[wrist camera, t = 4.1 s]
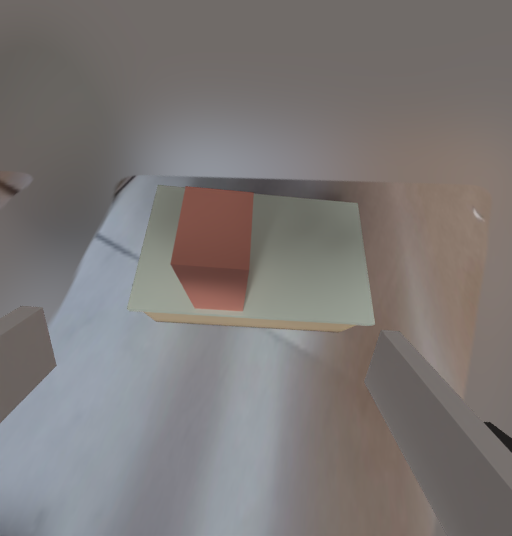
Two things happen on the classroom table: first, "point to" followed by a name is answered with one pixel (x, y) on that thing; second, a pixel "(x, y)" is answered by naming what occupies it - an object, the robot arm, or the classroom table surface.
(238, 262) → the lid
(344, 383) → the classroom table surface
